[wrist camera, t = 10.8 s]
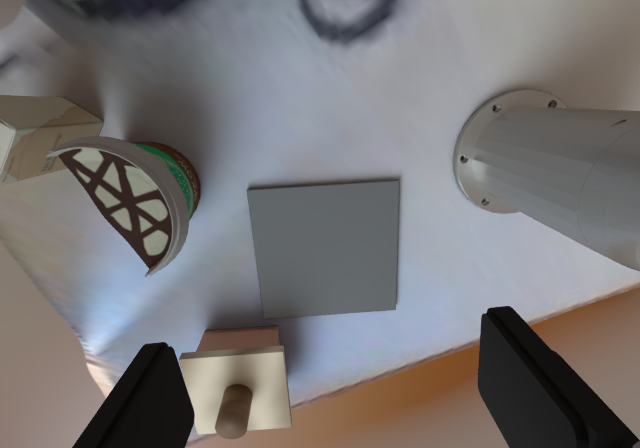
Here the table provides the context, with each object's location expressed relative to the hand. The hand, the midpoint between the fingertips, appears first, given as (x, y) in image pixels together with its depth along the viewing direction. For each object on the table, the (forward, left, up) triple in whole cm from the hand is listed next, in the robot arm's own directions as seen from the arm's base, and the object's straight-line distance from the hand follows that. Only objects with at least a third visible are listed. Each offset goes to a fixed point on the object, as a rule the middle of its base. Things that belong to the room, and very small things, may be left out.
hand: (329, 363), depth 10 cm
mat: (-1, +9, -27) cm, 29 cm away
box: (+23, -6, -27) cm, 36 cm away
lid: (+10, +23, -22) cm, 33 cm away
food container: (+14, -1, -27) cm, 31 cm away
